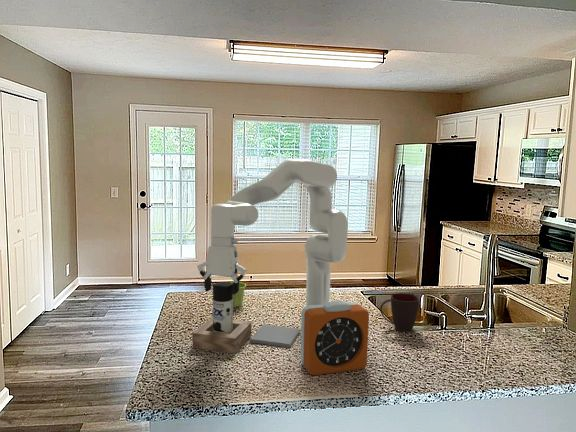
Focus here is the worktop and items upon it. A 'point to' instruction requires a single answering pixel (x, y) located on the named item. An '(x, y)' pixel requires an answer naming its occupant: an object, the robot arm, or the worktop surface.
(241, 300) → the plant pot
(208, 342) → the walnut collar
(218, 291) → the spray can
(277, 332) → the slate coaster
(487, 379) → the worktop surface
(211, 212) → the robot arm
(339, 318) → the alarm clock
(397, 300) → the cup
